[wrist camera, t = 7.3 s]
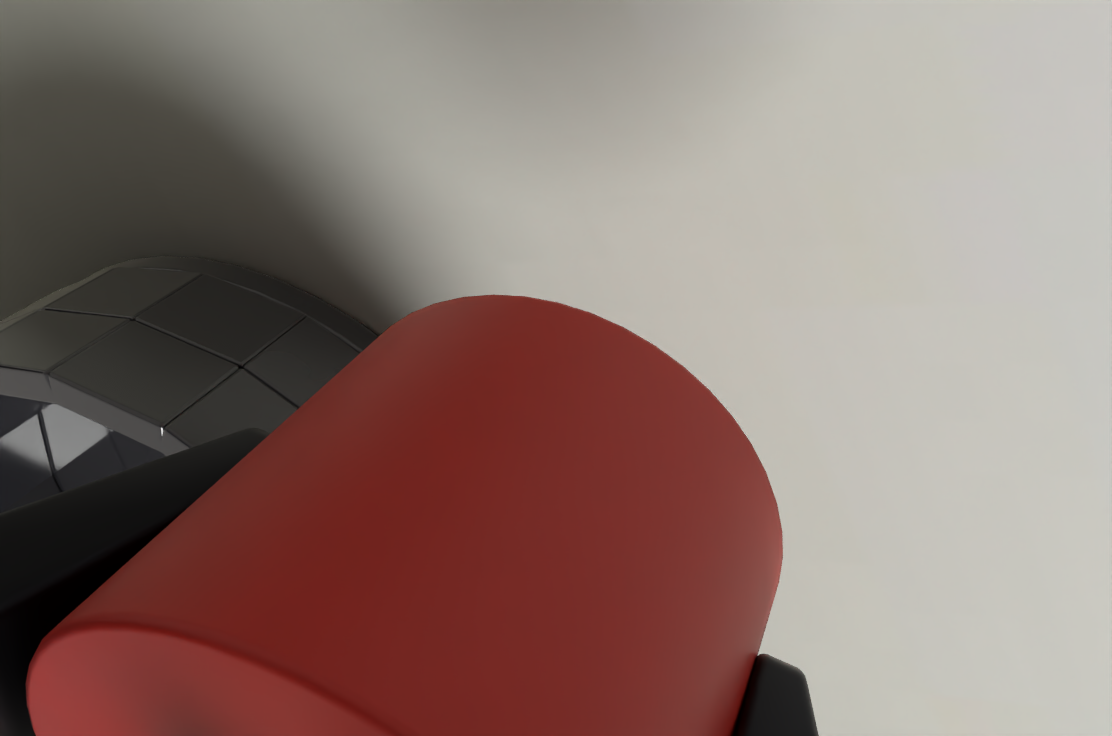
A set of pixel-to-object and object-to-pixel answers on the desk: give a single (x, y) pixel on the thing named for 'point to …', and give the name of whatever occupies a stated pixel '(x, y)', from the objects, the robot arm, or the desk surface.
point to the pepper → (448, 554)
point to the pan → (156, 368)
